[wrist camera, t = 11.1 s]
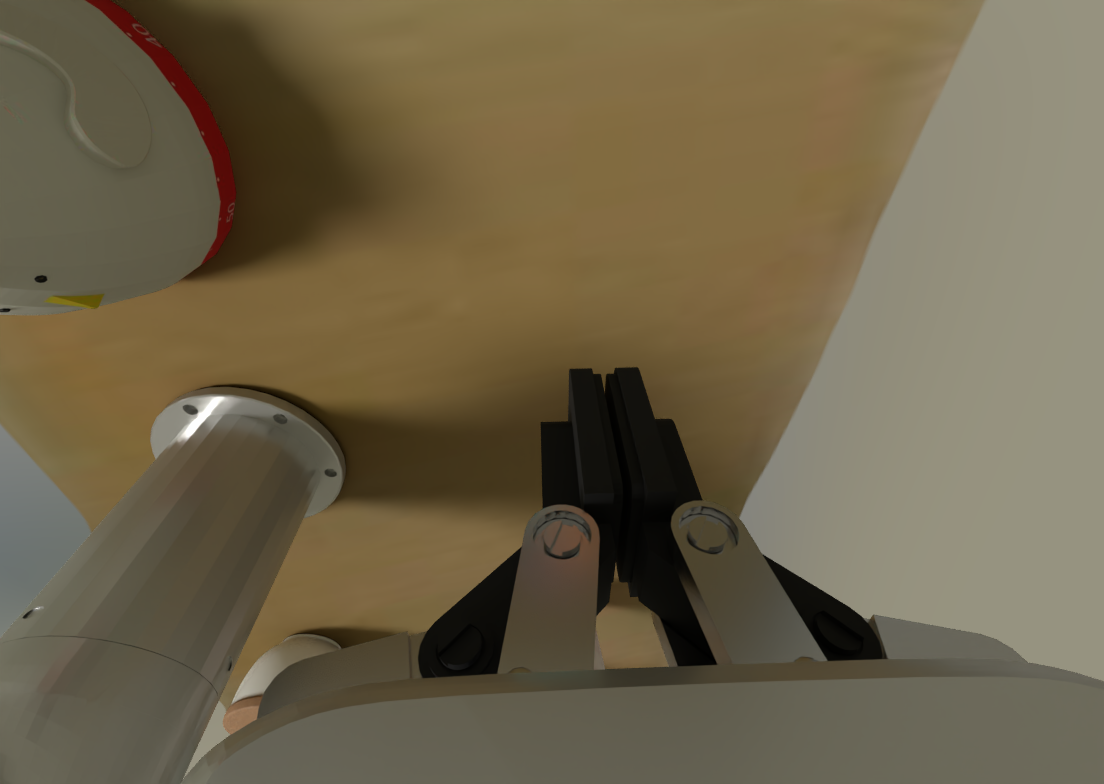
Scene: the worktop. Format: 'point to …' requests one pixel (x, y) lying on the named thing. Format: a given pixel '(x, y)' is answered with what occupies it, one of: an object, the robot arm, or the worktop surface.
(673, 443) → the robot arm
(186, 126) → the kitchen timer
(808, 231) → the worktop surface
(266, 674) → the lidded jar
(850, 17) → the worktop surface
